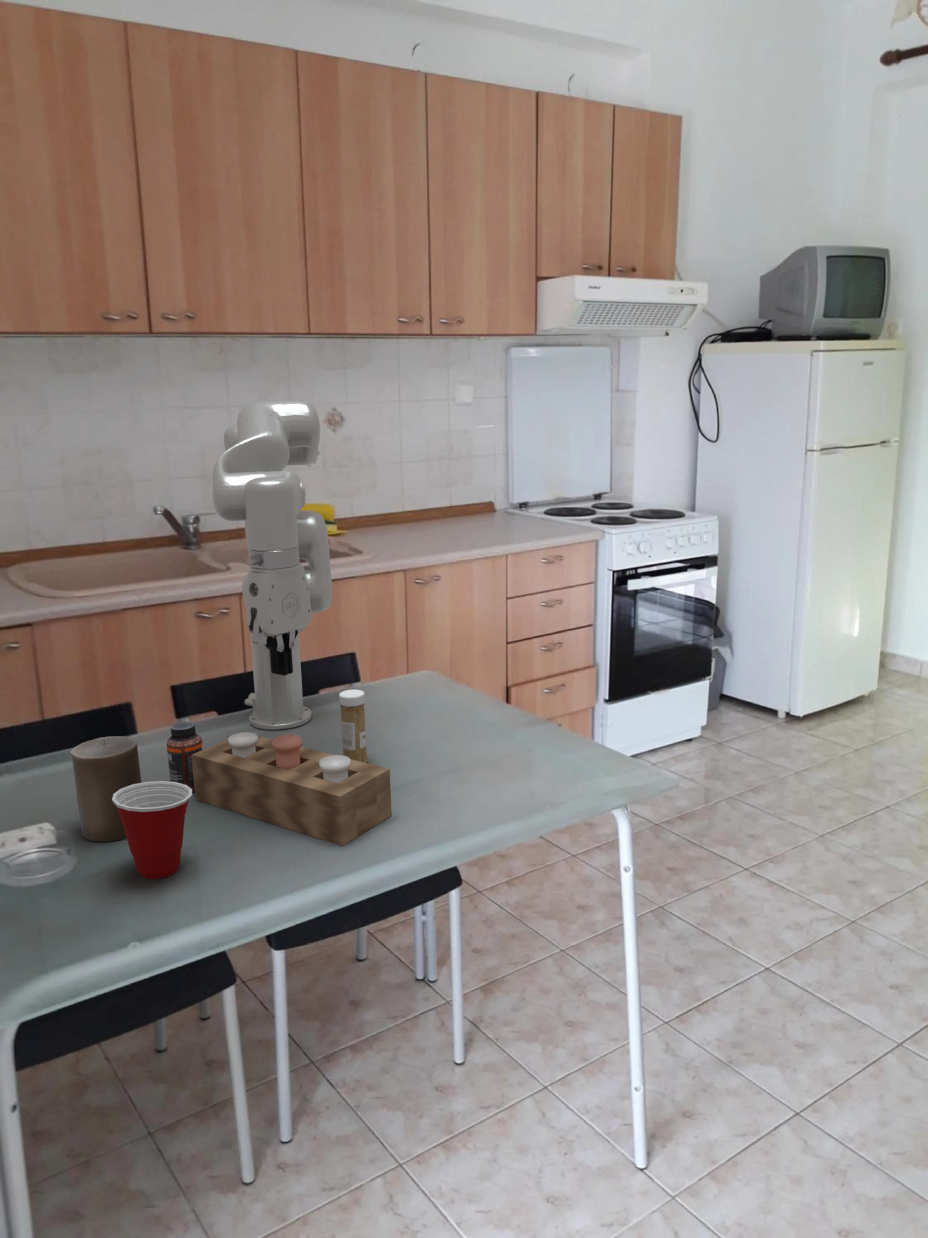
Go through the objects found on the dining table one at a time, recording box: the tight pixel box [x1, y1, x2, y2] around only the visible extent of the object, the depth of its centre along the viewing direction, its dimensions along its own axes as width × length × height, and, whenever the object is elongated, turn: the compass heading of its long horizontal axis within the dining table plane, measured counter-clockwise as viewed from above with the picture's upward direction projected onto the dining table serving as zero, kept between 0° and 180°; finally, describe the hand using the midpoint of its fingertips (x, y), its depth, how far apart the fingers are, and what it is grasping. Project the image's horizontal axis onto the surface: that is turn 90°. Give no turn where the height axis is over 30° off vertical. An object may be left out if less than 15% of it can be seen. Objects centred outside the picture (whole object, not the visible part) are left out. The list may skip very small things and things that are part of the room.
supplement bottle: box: [166, 721, 204, 793], centre depth 167 cm, size 6×6×11 cm
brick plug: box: [271, 734, 303, 770], centre depth 158 cm, size 5×5×10 cm
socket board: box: [191, 735, 392, 847], centre depth 159 cm, size 32×12×8 cm, turn 57°
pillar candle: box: [70, 735, 143, 842], centre depth 152 cm, size 10×10×15 cm
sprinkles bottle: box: [338, 689, 369, 763], centre depth 176 cm, size 5×5×14 cm
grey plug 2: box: [319, 754, 351, 783], centre depth 153 cm, size 5×5×10 cm
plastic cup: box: [112, 780, 193, 880], centre depth 139 cm, size 11×11×12 cm
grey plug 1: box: [227, 732, 259, 758], centre depth 164 cm, size 5×5×10 cm
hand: (282, 673), depth 155 cm, fingers closed
